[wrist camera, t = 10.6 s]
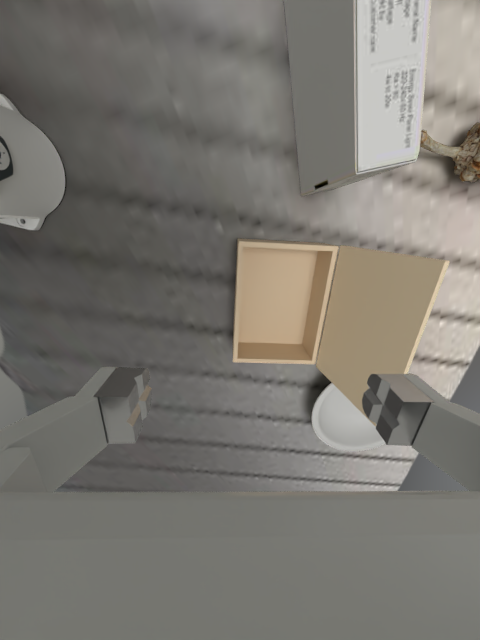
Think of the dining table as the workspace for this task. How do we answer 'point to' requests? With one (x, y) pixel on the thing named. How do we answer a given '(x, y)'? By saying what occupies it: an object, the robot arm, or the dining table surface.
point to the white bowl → (342, 423)
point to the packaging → (356, 86)
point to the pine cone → (459, 153)
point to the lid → (376, 316)
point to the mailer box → (281, 300)
